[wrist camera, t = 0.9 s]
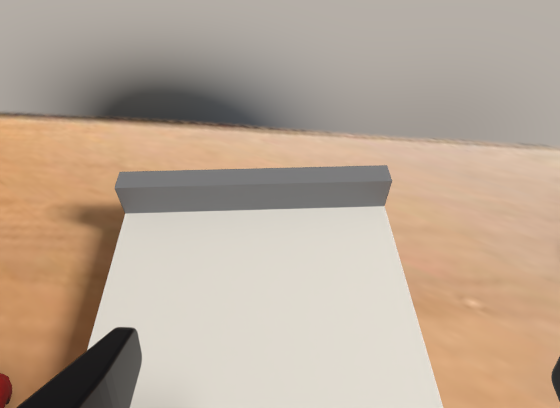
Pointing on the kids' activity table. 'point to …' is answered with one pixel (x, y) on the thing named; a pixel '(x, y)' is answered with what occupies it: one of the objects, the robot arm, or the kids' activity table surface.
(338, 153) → the kids' activity table surface
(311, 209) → the shelf board
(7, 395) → the red bumpy oval lump
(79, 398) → the robot arm
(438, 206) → the kids' activity table surface
